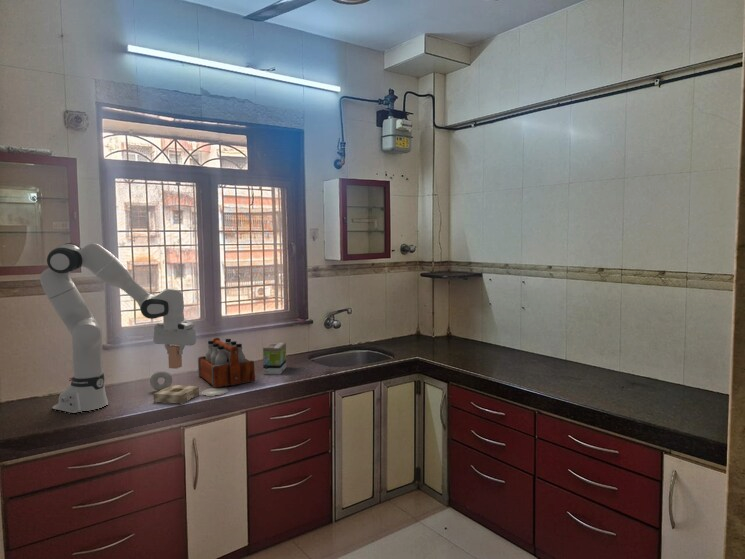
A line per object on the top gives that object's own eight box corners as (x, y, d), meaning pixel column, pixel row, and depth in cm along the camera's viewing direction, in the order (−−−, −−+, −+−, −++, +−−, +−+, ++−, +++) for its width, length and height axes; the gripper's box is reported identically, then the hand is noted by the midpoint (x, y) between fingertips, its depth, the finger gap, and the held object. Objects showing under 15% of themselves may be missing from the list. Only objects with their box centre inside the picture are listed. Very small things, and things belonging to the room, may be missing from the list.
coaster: (196, 395, 235) (196, 394, 235) (210, 388, 247) (210, 386, 247) (219, 397, 232) (218, 396, 232) (232, 389, 244) (232, 388, 244)
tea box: (281, 374, 271) (280, 347, 270) (262, 374, 271) (262, 347, 270) (286, 367, 286) (286, 342, 285) (269, 367, 286) (268, 342, 285)
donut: (172, 388, 247) (172, 368, 246) (172, 390, 243) (171, 370, 242) (150, 390, 243) (149, 370, 243) (150, 392, 240) (149, 372, 239)
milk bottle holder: (215, 389, 242) (214, 349, 241) (196, 374, 271) (195, 339, 270) (257, 382, 254) (256, 344, 253) (235, 369, 283) (234, 335, 282)
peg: (168, 368, 228) (168, 346, 228) (174, 366, 232) (173, 344, 231) (176, 368, 227) (175, 346, 227) (181, 366, 231) (181, 345, 230)
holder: (153, 402, 226) (153, 393, 226) (173, 393, 239) (173, 384, 239) (180, 404, 222) (180, 395, 222) (199, 395, 236) (198, 386, 236)
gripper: (149, 324, 228) (150, 354, 229) (189, 326, 223) (190, 356, 224) (158, 322, 234) (159, 351, 235) (197, 323, 229) (198, 353, 230)
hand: (174, 354), depth 229 cm, fingers closed on peg, 4 cm apart
